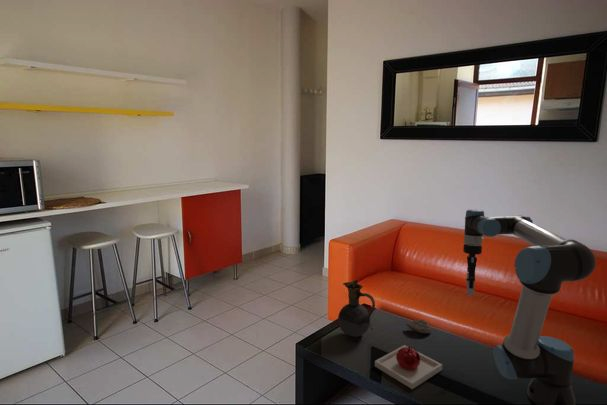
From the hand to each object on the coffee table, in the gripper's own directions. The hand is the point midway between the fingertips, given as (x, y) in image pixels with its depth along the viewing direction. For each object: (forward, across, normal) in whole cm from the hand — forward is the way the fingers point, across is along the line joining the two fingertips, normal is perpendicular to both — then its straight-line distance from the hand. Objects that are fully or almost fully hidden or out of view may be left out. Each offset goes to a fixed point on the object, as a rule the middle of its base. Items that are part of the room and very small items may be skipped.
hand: (469, 290), depth 174 cm
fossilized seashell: (+28, +13, +22) cm, 38 cm away
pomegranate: (+31, -20, +23) cm, 43 cm away
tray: (+32, -20, +23) cm, 44 cm away
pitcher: (+30, -2, +50) cm, 59 cm away
